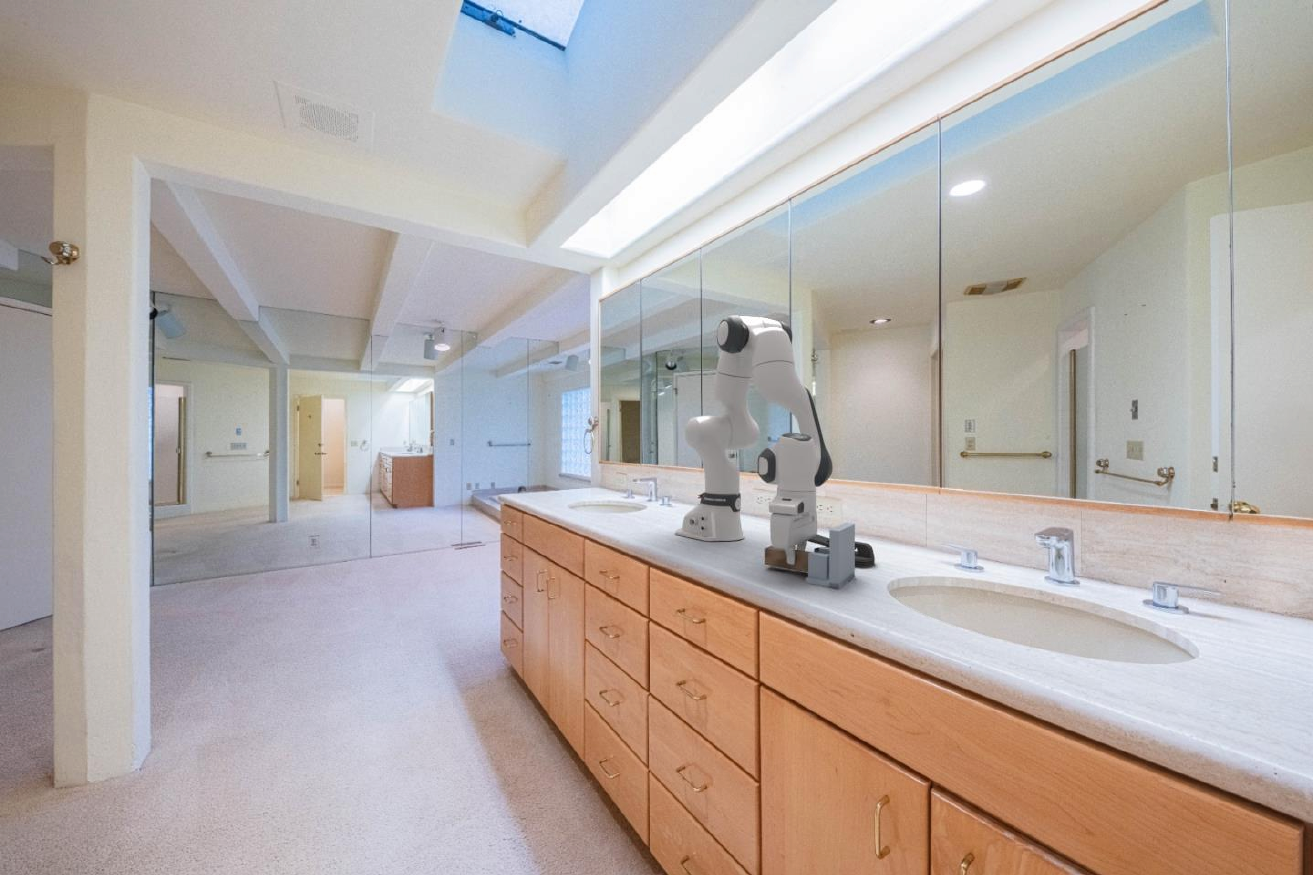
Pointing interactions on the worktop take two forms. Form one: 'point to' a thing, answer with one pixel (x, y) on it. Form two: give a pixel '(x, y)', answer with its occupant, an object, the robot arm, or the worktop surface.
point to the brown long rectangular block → (779, 559)
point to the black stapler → (862, 555)
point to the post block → (834, 559)
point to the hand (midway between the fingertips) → (795, 561)
